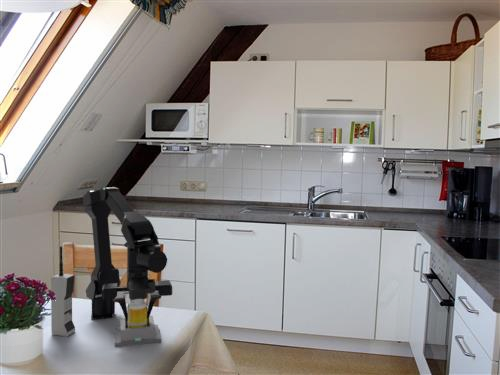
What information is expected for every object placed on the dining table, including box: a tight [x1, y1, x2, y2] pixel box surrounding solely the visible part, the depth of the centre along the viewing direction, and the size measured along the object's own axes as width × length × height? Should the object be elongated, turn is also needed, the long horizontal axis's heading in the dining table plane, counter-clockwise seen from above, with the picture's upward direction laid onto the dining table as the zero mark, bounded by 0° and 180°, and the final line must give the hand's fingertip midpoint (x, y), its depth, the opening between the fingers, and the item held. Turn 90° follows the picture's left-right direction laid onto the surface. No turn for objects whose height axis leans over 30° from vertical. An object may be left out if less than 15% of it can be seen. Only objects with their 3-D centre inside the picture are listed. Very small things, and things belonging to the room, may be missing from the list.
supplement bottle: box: [127, 299, 148, 328], centre depth 121 cm, size 5×5×10 cm
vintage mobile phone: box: [50, 246, 76, 337], centre depth 121 cm, size 4×5×25 cm
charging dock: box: [114, 315, 162, 348], centre depth 121 cm, size 12×10×4 cm
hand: (137, 319), depth 121 cm, fingers closed on supplement bottle, 5 cm apart
